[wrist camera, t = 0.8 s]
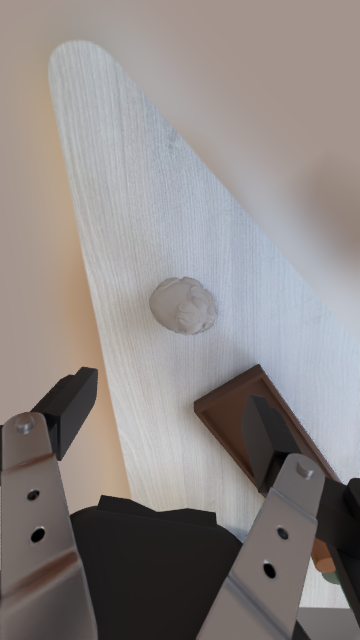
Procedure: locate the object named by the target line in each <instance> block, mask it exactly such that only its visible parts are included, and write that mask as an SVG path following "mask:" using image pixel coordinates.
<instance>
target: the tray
mask: <svg viewBox="0 0 360 640" xmlns="http://www.w3.org/2000/svg"><path fill="white" fill-rule="evenodd" d="M249 394H253V395H260V396H265V398H266V399H267V401H268V404H269V406H270V407H272V408H275V409H276V410H277V411H278V412H279V413H280V414H281V415H282V416H283V418H284V420H285V422H286V425H287V426H288V428H289V430H290V432H291V433H292V435H293V437H294V439H295V441H296V443H297V444H298V446H299V448H300V450H301V452H302V454H303V455H304V456H306V457H308V458H310V459H311V460H313V461H314V462H315V463H316V464H317V465H318V466H319V467H320V468H321V470H322V471H323V473H324V476H325V477H328V478H330V479H332V480H335V481H337V482H339V483H341V481H340V480H339V478H338V477H337V475H336V474H335V472H334V471H333V470H332V468H331V467H330V465H329V464H328V462H327V461H326V460H325V458H324V457H323V455H322V454H321V452H320V451H319V449H318V448H317V447H316V445H315V444H314V442H313V441H312V439H311V438H310V437H309V435H308V434H307V432H306V431H305V429H304V428H303V426H302V425H301V424H300V422H299V421H298V419H297V418H296V416H295V415H294V413H293V412H292V411H291V409H290V408H289V406H288V405H287V403H286V402H285V401H284V399H283V398H282V396H281V395H280V393H279V392H278V390H277V389H276V388H275V386H274V385H273V383H272V382H271V380H270V379H269V378H268V376H267V375H266V373H265V372H264V370H263V369H262V367H261V366H260V365H259V364H258V365H256V366H255V367H253V368H251V369H249V370H248V371H246V372H244V373H243V374H241V375H239V376H237V377H236V378H234V379H232V380H231V381H229V382H227V383H226V384H224V385H222V386H220V387H219V388H217V389H215V390H214V391H212V392H210V393H208V394H207V395H205V396H203V397H202V398H200V399H198V400H197V401H195V402H194V412H195V413H196V415H197V416H198V417H199V418H200V419H201V421H202V422H203V423H204V424H205V426H206V427H207V428H208V429H209V430H210V432H211V433H212V434H213V435H214V436H215V438H216V439H217V440H218V441H219V443H220V444H221V445H222V446H223V447H224V449H225V450H226V451H227V452H228V453H229V455H230V456H231V457H232V458H233V460H234V461H235V462H236V463H237V464H238V466H239V467H240V468H241V469H242V470H243V472H244V473H245V474H246V475H247V477H248V478H249V479H250V480H251V481H252V483H253V484H254V485H255V486H256V487H257V485H256V482H255V478H254V474H253V471H252V467H251V463H250V460H249V456H248V452H247V449H246V445H245V442H244V438H243V434H242V431H241V419H242V415H243V412H244V408H245V405H246V402H247V398H248V396H249ZM261 494H262V495H263V496H264V497H265V498H266V497H267V494H263V493H261Z"/></svg>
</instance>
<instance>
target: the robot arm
mask: <svg viewBox="0 0 360 640" xmlns="http://www.w3.org/2000/svg"><path fill="white" fill-rule="evenodd" d="M97 378H98V370H97V369H94V368H88V367H81V369H80V370H79V371H78V372H77V373H76V374H75V375H68V376H66V377H64V378H62V379H60V380H59V382H57V384H56V385H55V386H54V387H53V388H52V389H51V390H50V391H49V393H47V394H46V395H45V396H44V397H43V399H41V400H40V401H39V403H38V404H37V405H36V406H35V407H34V408H33V409H32V410H31V411H30V412H25V413H21V414H18V415H15V416H14V417H12V418H10V419H9V420H8V421H7V422H6V423H5V424H4V425H0V486H1V570H0V640H311V639H310V638H309V636H308V635H307V633H306V632H305V631H304V629H303V628H302V626H301V625H300V624H299V622H298V621H297V619H296V617H297V613H298V608H299V604H300V600H301V595H302V591H303V587H304V582H305V578H306V574H307V569H308V565H309V561H310V556H311V552H312V547H313V543H314V539H315V538H317V539H319V540H321V541H323V542H325V543H326V546H327V548H328V551H329V553H330V556H331V558H332V561H333V563H334V566H335V568H336V571H337V573H338V576H339V578H340V581H341V583H342V585H343V588H344V590H345V593H346V595H347V598H348V600H349V603H350V605H351V608H352V610H353V613H354V615H355V618H356V620H357V623H358V625H359V627H360V478H352V479H351V480H350V481H349V483H348V485H347V486H346V485H344V484H342V483H339V482H337V481H335V480H332V479H330V478H328V477H325V476H324V473H323V471H322V470H321V468H320V467H319V466H318V465H317V464H316V463H315V462H314V461H313V460H311V459H310V458H308V457H306V456H304V455H303V454H302V452H301V450H300V448H299V446H298V444H297V443H296V441H295V439H294V437H293V435H292V433H291V432H290V430H289V428H288V426H287V425H286V422H285V420H284V418H283V416H282V415H281V414H280V413H279V412H278V411H277V410H276V409H275V408H272V407H270V406H269V404H268V401H267V399H266V398H265V396H260V395H253V394H249V396H248V398H247V402H246V405H245V408H244V412H243V415H242V419H241V431H242V434H243V438H244V442H245V445H246V449H247V452H248V456H249V460H250V463H251V467H252V471H253V474H254V478H255V482H256V485H257V489H258V492H259V493H263V494H267V497H266V499H265V501H264V503H263V505H262V507H261V509H260V511H259V513H258V515H257V517H256V519H255V521H254V523H253V525H252V527H251V529H250V531H249V533H248V535H247V537H246V539H245V541H244V544H242V543H241V542H240V540H238V539H237V538H236V537H235V536H234V535H233V534H232V533H231V532H229V531H228V530H227V529H225V528H223V527H222V526H220V525H218V524H217V521H216V513H215V512H209V511H202V510H196V509H189V508H186V509H179V510H171V511H164V512H156V511H154V510H152V509H150V508H147V507H145V506H143V505H141V504H139V503H137V502H134V501H132V500H130V499H124V498H118V497H112V496H105V495H101V498H100V501H99V503H98V506H92V507H88V508H84V509H82V510H79V511H77V512H75V513H73V514H71V515H69V511H68V506H67V502H66V498H65V493H64V489H63V484H62V480H61V475H60V471H59V466H58V462H57V461H61V460H62V458H63V457H64V455H65V453H66V451H67V450H68V448H69V446H70V445H71V443H72V441H73V440H74V438H75V436H76V435H77V433H78V431H79V430H80V428H81V426H82V424H83V423H84V421H85V419H86V418H87V416H88V414H89V413H90V411H91V409H92V408H93V406H94V403H95V400H96V395H97V380H98V379H97Z"/></svg>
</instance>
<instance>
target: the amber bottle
mask: <svg viewBox="0 0 360 640" xmlns="http://www.w3.org/2000/svg"><path fill="white" fill-rule="evenodd" d="M311 558H312V560H313V563H314V565H315V568H316V569H317V570H318V571H319V572H322V573H331V572H334V571H335V570H336V568H335V566H334V563H333V561H332V558H331V556H330V553H329V551H328V548H327V546H326V543H325V542H323V541H321V540H319V539H317V538H315V539H314V543H313V547H312V552H311Z"/></svg>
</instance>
